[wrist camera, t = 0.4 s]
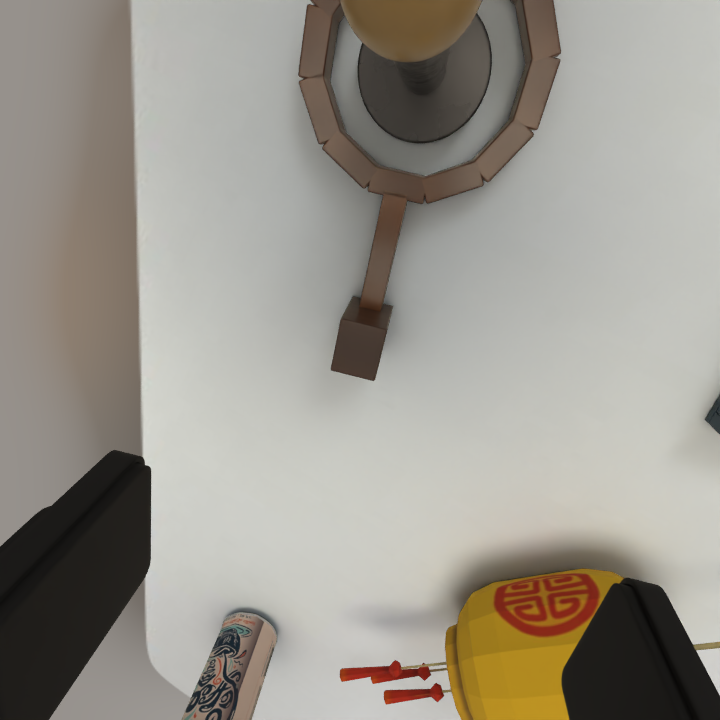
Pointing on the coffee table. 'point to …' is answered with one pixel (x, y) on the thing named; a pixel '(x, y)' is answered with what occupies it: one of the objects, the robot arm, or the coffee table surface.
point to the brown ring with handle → (368, 314)
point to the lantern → (510, 647)
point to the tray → (715, 416)
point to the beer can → (234, 670)
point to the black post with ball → (420, 64)
